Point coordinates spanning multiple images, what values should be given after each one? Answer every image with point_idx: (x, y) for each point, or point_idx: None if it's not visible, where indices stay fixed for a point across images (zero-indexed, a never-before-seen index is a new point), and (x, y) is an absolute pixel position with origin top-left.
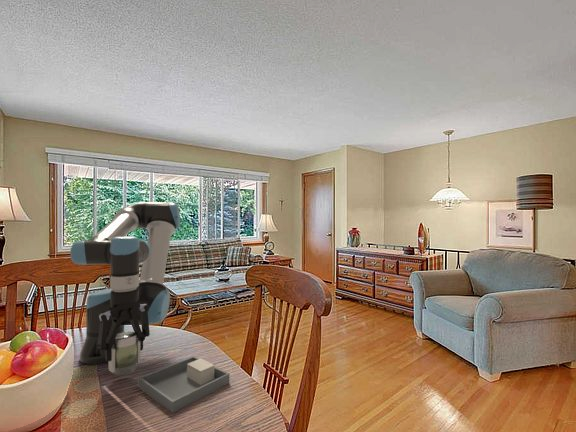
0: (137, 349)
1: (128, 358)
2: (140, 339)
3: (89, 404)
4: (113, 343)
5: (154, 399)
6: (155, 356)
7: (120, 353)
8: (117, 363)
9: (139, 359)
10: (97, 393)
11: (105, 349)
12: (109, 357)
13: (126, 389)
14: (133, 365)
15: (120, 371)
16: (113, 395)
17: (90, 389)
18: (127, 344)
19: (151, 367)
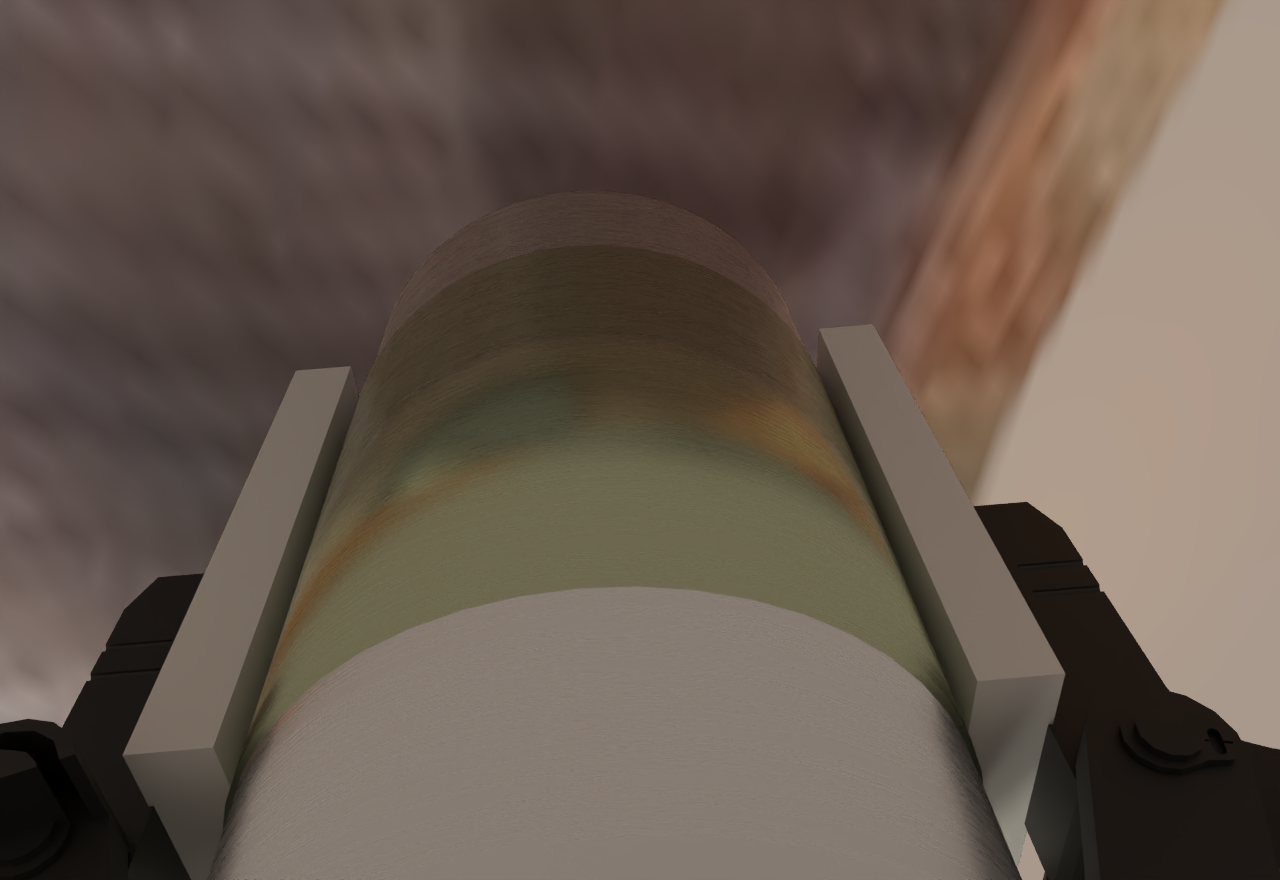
0: (284, 586)
1: (607, 339)
2: (93, 817)
3: (1202, 20)
4: (1115, 877)
5: None
6: (18, 708)
7: (829, 505)
8: (821, 395)
9: (298, 407)
10: (974, 261)
11: (1269, 758)
12: (1021, 566)
13: (638, 57)
14: (476, 266)
15: (742, 270)
16: (859, 18)
17: (976, 426)
18: (669, 639)
19: (123, 464)
